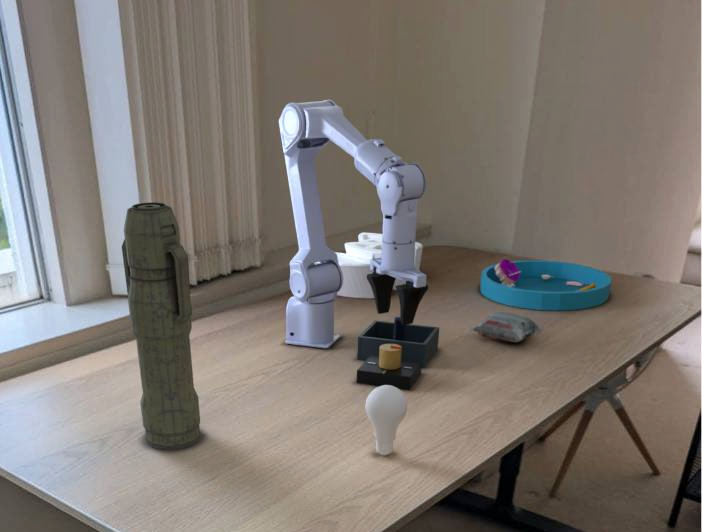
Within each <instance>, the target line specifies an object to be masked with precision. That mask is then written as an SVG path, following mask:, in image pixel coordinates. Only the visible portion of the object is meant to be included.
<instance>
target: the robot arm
mask: <svg viewBox="0 0 702 532" xmlns="http://www.w3.org/2000/svg"><path fill="white" fill-rule="evenodd" d="M278 126H279V132H280V138H281V144H282V145H281V146H282V151H283V154H284V160H285V167H286V168H285V169H286V173H287V180H288V186H289V187H288V188H289V193H290V200H291V206H292V212H293V219H294V227H295V232H296V238H297V245H298V251H297V253H296V254H295V255H294V256H293V258H292V259H291V260H290V261H289V272H290V273H289V282H288V283H289V288H290V290H291V293H292V295H293V296H290V298H289V299H288V301H287V304H286V308H285V309H286V310H285V316H286V317H285V320H286V321H285V324H286V325H285V328H286V329H285V331H286V333H285V335H286V340H285V341H284V343H285V344H287V345H295V346H302V347H310V348H311V347H312V348H319V349H330V348H331V347H332V345H333V344H335V343H336V342H337V341H338V340H340V338H341V334H337V333H335V298H338V295H337V292H338V291H340V289H341V288H342V285H343V273H342V270H341V268H340V266H339V263H338V258H337V254H336V253H335V252H336V251H334V250H333V249H331V248H329V246H328V245H327V241H326V234H325V228H324V227H325V226H324V221H323V213H322V206H321V201H320V200H321V199H320V193H319V186H318V180H317V179H318V178H317V173H316V165H315V159H316V157H317V155H318V154H319V152H321V151H322V150H323V149H324V148H325V147H326V145H328V144H329V143H330V142H333V143H334V144H335V145H336V146H338V147H339V148H341V149H342V150H343V151H345V153H346V154H349V156H351V157H353V159H354V162H353V163H354V167H355V169H356V170H357V171H358V172H359V173H361V174H362V175H363V176H364V177H365V178H366V179H368V180H369V182H370V183H372V185H374V186H375V187H376V193H377V197H378V198H379V201H380V211H381V214H382V234H383V236H382V258H374V259H370V270H372V271H374V272H373V273H372V274H368V275H367V280H368V282H369V283H370V286H371V288H372V291H373V294H374V298H373V299H374V302H375V308H376V311H377V314H378V315H382V314H387V313H389V312H390V308H391V303H392V293H393V290H392V289H393V285H394V282H395V279H396V278H397V279H400V280H402V281H405V282H406V284H403V285H397V286H396V290H395V291H396V293H397V296H398V300H399V311H400V312H399V315H400V316H399V317H400V319H401V324H402V325H407V324H413V323H414V321H415V317H416V315H417V311H418V308H419V306H420V303H421V301H422V299H423V298H424V297H425V296H424V295H425V294H426V292H428V290H429V285H428V284H427V277H428V275H427V274H425V273H423V272H421V270H420V269H419V270H418V269H417V268H416V267H415V266H414V255H415V242H416V237H417V222H418V221H417V220H418V203H419V199H421V198H422V197H423V196H424V194H425V192H426V188H427V177H426V173H425V170H423V167H421V166H420V164H419V163H417V162H409V163H407V162H405V161H403V158H402V157H401V156H400V155H397V154H395V153H394V152H393V151H391V149H389V147H387V146H386V142H385V140H383V139H382V138H377V139H376V138H371V139H366V138H365V136H363V134H362V133H361V131H359V130H358V129H357V128H356V127H355V126H354V125H353V124H352V123H351V122H350V121H349V120H348V119H347V118H346V117H345V116H344V112H343V108H342V106H339V105H338V104H336V102H334V101H333V100H332V99H324V100H319V101H308V102H289V103H287V104H286V105H285V106H284V108H283V109H282V112H281V114H280V116H279V119H278ZM315 262H320V264H316V265H315V264H314V263H315Z"/></svg>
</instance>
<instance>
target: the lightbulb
mask: <svg viewBox="0 0 702 532" xmlns="http://www.w3.org/2000/svg"><path fill="white" fill-rule="evenodd" d="M407 411H408V400H407V397H406V395H405V393H404V392H403V391H402V389H398V388H396V387H394V386H391V385H383V386H376V387H375V388H374V389H372V391H371V392H369V394H368V395H367V398H366V400H365V412H366V415H367V417H368V420H369V421H370V423H371V426H372V428H373V436H374V440H375V451H376V453H377V454H380V455H381V456H387V455H389V454H391V453H392V452H393V450H394V449H393V448H394V441H395V440H396V435H397V431H398V428H399V426H400V424H401V423H402V421H403V419H405V416H406V414H407Z"/></svg>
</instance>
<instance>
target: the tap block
mask: <svg viewBox="0 0 702 532" xmlns="http://www.w3.org/2000/svg"><path fill="white" fill-rule="evenodd" d="M421 367H422V362H417V361H408V360H401V367H400V368H398V369H393V370H388V369H383V368H380V367H379V357H376V356H370V357H369V358H368V359H367V360H366V361H363V363H362V364H361V365H360V366H359V367H358V368H357V369H356V384H362V385H368V386H374V387H375V386H376V387H379V386H383V385H391V386H394V387H396V388H398V389H399V390H406V391H411V389H412V388H413V386H414V385H415V383H416V382H417V381H418V380H419V378H420V377H421V375H422V368H421Z"/></svg>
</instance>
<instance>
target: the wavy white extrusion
mask: <svg viewBox="0 0 702 532" xmlns="http://www.w3.org/2000/svg"><path fill="white" fill-rule="evenodd" d="M382 236H383V233H376V232H361V233H359V234H358V236H357V238H358V241H349V242H345V243H344V249H345V252H336V251H334V252H335V253H336V254H337V258H338V263H339V266H340V268H341V270H342V273H343V285H342V288H341V289H340V291H338V292H337V297H345V298H354V299H375V298H374V294H373V291H372V288H371V286H370V283H369V282H368V280H367V275H368V274H372V273H373V272H374V271H372V270H370V259H374V258H382ZM423 249H424V245H423V244H422V243H421V242H417V241H415V255H414V266H415V267H416V268H417V269H418V270H419V271H420V268H421V267H420V266H421V261H422V255H423ZM316 264H320V262H315V263H313V265H316ZM403 284H406V282H405V281H402V280H400V279H397V278H396V279H395V282H394V285H393V289H392V291H397V290H396V286H397V285H403Z"/></svg>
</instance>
